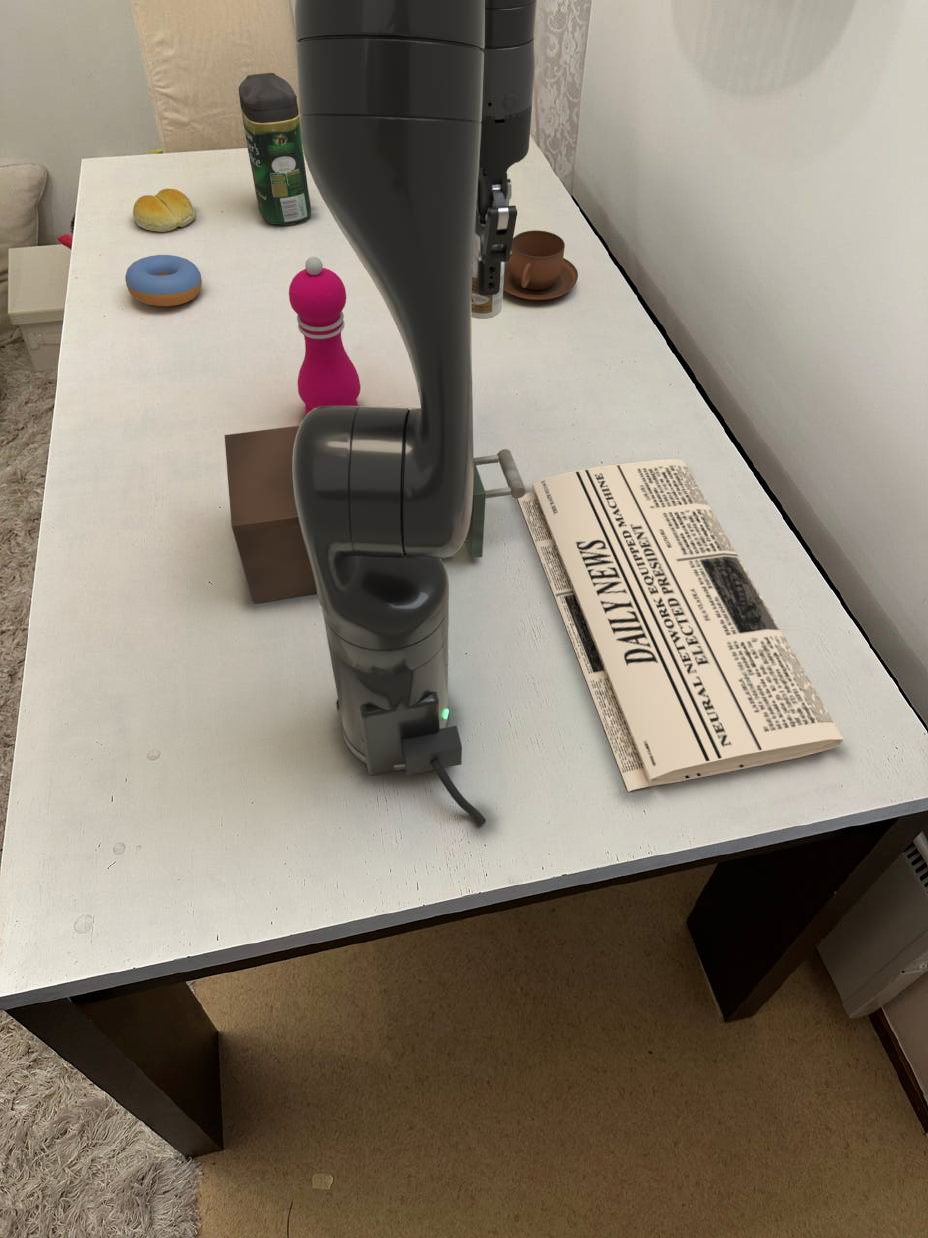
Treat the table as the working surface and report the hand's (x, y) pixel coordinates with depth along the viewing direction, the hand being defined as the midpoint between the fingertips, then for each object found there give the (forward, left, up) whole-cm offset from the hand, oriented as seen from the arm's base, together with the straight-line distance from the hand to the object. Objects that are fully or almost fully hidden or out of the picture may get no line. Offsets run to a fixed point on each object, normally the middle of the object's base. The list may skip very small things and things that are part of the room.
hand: (482, 279), depth 87 cm
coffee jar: (+57, +18, -19) cm, 62 cm away
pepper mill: (+5, +17, -19) cm, 26 cm away
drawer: (-16, +9, -18) cm, 26 cm away
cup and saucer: (+29, -15, -19) cm, 38 cm away
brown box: (-16, +21, -19) cm, 32 cm away
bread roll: (+58, +36, -19) cm, 70 cm away
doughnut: (+36, +36, -19) cm, 54 cm away
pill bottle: (0, 0, -4) cm, 4 cm away
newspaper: (-32, -11, -19) cm, 38 cm away
